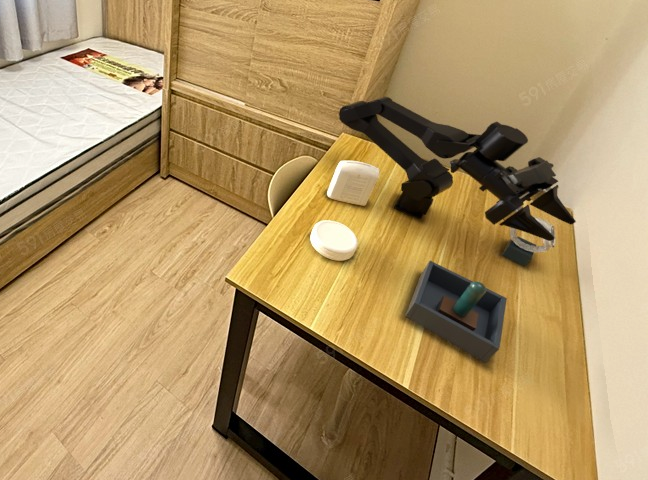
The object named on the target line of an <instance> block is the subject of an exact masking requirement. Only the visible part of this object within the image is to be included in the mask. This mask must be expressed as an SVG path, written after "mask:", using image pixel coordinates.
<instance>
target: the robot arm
mask: <svg viewBox="0 0 648 480" xmlns="http://www.w3.org/2000/svg"><path fill="white" fill-rule="evenodd" d="M377 115H378V116H380V117H382V118H383V119H385V120H386V121H388V122H391V123H392V124H394V125H396V126H397V127H400V128H401V129H402V130H405V131H406V132H408V133H410V134H411V135H413V136H415V137H417V138H418V139H419V140H421V143H423V145H424V147H425V148H427V149H428V150H429V151H430V152H431V153H433V154H434V155H435V156H437V157H438V158H441V159H452V158H454V157H456V156H459V155H460V154H462V155H461V156H460V157H459V158H454V159H452V160H450V161H449V164H450V168H449V167H446V166H445V165H443V164H442V163H441V162H440V161H439V160H438V159H437V158H432V159H430V160H427V159H424V158H422V157H421V156H420V155H418V154H417V153H416V152H415V151H414V150H412V149H411V148H410V147H409V146H408V145H407V144H406V143H404V142H403V141H402V140H401V139H400V138H399V137H397V136H396V135H395V134H394V133H393V132H391V130H389V129H388V128H387V127H386V126H385V125H383V123H381V122H380V121H379V118H378V116H377ZM338 117H339V118H338V119H339V121H340V122H341V123H342V124H343V125H344V126H346V127H348V129H351V130H353V131H356V132H359V133H362V134H363V135H365V136H366V137H367V138H368V139H369V140H370V141H371V142H373V143H374V145H376V146H377V147H378V148H379V149H380V150H381V151H382V152H384V153H385V154H386V155H387V156H388V157H389V158H390V159H391V160H393V161H394V162H395V163H396V164H397V165H398V166H399V167H400V168H402V169H403V171H404V172H405V174H406V177H407V180H406V181H404V182H402V183H401V184H400V191H401V194H399V196H398V199H397V200H396V203H395V205H394V206H393V208H394V209H395V210H397V211H400V212H402V213H404V214H405V215H408V216H411V217H413V218H415V219H418V220H422V218H423V216H426V215H427V213H428V212H429V210H430V208H431V206H432V205H433V202H434V197H436V196H439V195H440V194H442V193H443V192H445V191H447V190H449V189H451V188H452V186H453V184H454V177H453V175H452V174H454V173H456V172H459V171H460V170H462V171H463V172H465V173H466V174H467V175H468V176H469V177H470V178H472V179H473V180H474V181H476V182H477V183H478V184H480V186H479V188H478V189H479V190H480V191H481V192H485V191H488V192H489V193H490V194H492V195H493V196H494V197H495V198H497V199H498V201H496V203H495V204H494V205H493V206H491V207H490V208H489V209H487V210H486V211H484V217H485V219H486V220H487V221H488V222H490V223H491V224H492V225H493V226H495V225H496V224H498V223H499V222H501V221H502V220H503V221H502V222H501V223H499V226H500V227H502V226H505V227H508V228H510V227H511V228H514V229H516V231H517V230H518V231H520V232H524V233H525V234H529V235H532V236H533V237H534V236H535V237H537V238H540V239H542V238H543V239H545V240H548V241H552V240H553V239H555V240H556V236H555V237H554V236H553V235H552V234H551V233H550V232H549V231H548V230H547V229H546V228H545V227H544V226H543V225H542V224H541V223H539V222H540V221H539V222H538V221H537V220H536V219H535V218H534V217H535V216H533V215H532V212H531V209H530V206H532V207H534V208H535V209H538V210H539V211H542V212H543V213H546V214H548V215H550V216H552V217H553V218H556V219H557V220H560V221H561V222H563V223H566V224H568V225H573V224H575V223H577V221H576V219H575V218H574V217H573V215H572V214H571V213H570V211H569V210H568V208H566V206H565V205H564V204H563V202H562V201H561V199H560V198H559V196H558V189H559V184H557V183H558V182H559V180H558V179H557V178H555V177H556V176H557V174H556V173H555V172H554V170H553V168H554V167H555V166H554V164H553V163H551V162H549V161H548V160H545V159H543V158H542V157H540V156H539V157H538V156H537V157H535V158H532V159H530V160H529V161H528V162H527V165H528V166H525V167H523V168H521V169H516V168H515V167H514V166H510V165H509V166H507V167H505V166H504V165H502V164H501V163H500V162H506V161H507V160H508V159H510V158H511V157H512V156H513V155H514V154H516V153H517V152H518V151H519V150H521V149H522V148H523V147H524V146H525V145H526V144H528V143H529V139H528V136H527V135H526V134H525V133H524V132H523V131H522V130H520V129H518V128H516V127H513V126H510V125H507V124H502V123H500V122H499V121H494V122H491V123H490V125H488V126H487V127H486V129H485V130H484V131H483V132H482V133H481V134H477V133H470V132H469V133H468V132H467V131H464V130H462V129H461V128H458V127H455V126H451V125H450V124H449V125H448V124H442V123H437V122H434V121H431V120H430V119H428V118H426V117H424V116H423V115H421V114H418V113H416V112H414V111H413V110H411V109H409V108H407V107H405V106H403V105H401V104H400V103H398V102H395V101H394V100H393V99H392V98H391V97H388V96H382V97H379V98H376V99H373V100H370V101H365V100H357V101H355V102H352V103H348V104H345V105H343V106H342V107H340V109H339V111H338ZM474 148H475V150H474V151H470V150H472V149H474ZM554 185H555V186H554ZM553 186H554V187H553ZM526 201H527V202H530V201H531V202H530V203H529V204H527V205H525V204H524V202H526ZM524 205H525V206H524ZM543 239H542V240H543Z"/></svg>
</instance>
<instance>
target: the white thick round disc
mask: <svg viewBox="0 0 648 480" xmlns="http://www.w3.org/2000/svg"><path fill="white" fill-rule="evenodd" d="M309 238H310V244H311V245H312V247H313V249H314V250H315V251H316V252H317V253H318V254H320V255H321V256H323V257H324V258H327V259H329V260H332V261H338V262H340V261H341V262H343V261H348V260H349V259H351V258H352V257H354V254H355V252H356V250H357V248H358V242H359V241H358V238H357V236H356V234H355V233H354V231H353V230H352V229H350V228H349V227H348V226H347V225H345V224H343V223H341V222H338V221H335V220H328V219H325V220H320V221H318V222H316V224H314V225H313V228H312V230H311V233H310V237H309Z"/></svg>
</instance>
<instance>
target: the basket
mask: <svg viewBox="0 0 648 480" xmlns="http://www.w3.org/2000/svg"><path fill="white" fill-rule="evenodd" d="M472 282H474V281H473V280H471V279H469V278H467V277H465V276H463V275H460V274H458V273H457V272H454V271H452V270H450V269H449V268H446V267H444V266H442V265H440V264H438V263H436V262H434V261H432V260H429V261H428V263H427V264H426V265H425V267H424V269H423V270H422V272H421V273H420V276H419V278H418V281H417V283H416V287H415V289H414V291H413V295H412V297H411V299H410V303H409V306H408V307H407V310H406V313H405V316H404V317H405V318H407V319H409V320H411V321H412V322H414V323H415V324H417V325H419V326H421V327H422V328H424V329H425V330H428V331H429V332H431V333H433V334H434V335H436V336H438V337H440V338H441V339H443V340H445V341H447V342H448V343H450V344H451V345H454V346H456V347H457V348H459V349H460V350H463V351H464V352H466V353H468V354H469V355H471V356H473V357H474V358H476V359H478V360H480V361H481V362H483V363H485V364H486V363H487V362H489V360H490V359H491V358H492V357H493V356H494V355H495V354H496V353H497V352H498V351H499V350H500V347H501V346H500V345H501V341H502V334H503V327H504V319H505V314H506V306H507V300H508V298H507V297H506V296H504V295H501V294H499V293H497V292H495V291H494V290H492V289H489V288H488V287H486V292H485V294H484V295H483V296H482V297H481V299H480V300H479V301H478V302H477V304H476V305H475V306H474V307H473V308H472V311H474V312H476V313H478V314H479V316H478V321H477V326H476V329H475V330H474V331H471V330H470V329H468V328H466V327H464V326H462V325H460V324H459V323H457V322H455V321H453V320H451V319H450V318H448V317H446V316H444V315H442V314H440V313H439V312H437V311H435V310H436V307H437V304H438V303H439V302H440V300H441V299H442V297H443V296H445V297H447V298H449V299H451V300H453V301H455V302H457V301H458V299H459V298H460V297H461V295H462V294H463V293H464V292H465V290H466V289H467V288H468V286H469V285H470V284H471V283H472Z"/></svg>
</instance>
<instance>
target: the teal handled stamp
mask: <svg viewBox="0 0 648 480" xmlns="http://www.w3.org/2000/svg"><path fill="white" fill-rule="evenodd" d="M486 288H487V286H486V285H485V284H484V283H483V282H481V281H476V280H475V281H473V282H472V283H471V284H470V285H469V286H468V288H467V289H466V290H465V292H464V293H463V294H462V295H461V297H460V298H459V299H458V301H457V302H455V301H453V300H451V299H449V298H447V297H445V296H443V297H442V299H441V300H440V302H439V303H438V304H437V307H436V310H435V311H437V312H439V313H440V314H442V315H444V316H446V317H448V318H450V319H451V320H453V321H455V322H457V323H459V324H460V325H462V326H464V327H466V328H468V329H470V330H471V331H474V330H475V329H476V326H477V321H478V316H479V314H478V313H476V312H474V311H472V308H473V307H474V306H475V305H476V304H477V302H478V301H479V300H480V299H481V297H482V296H483V295H484V294H485V292H486Z"/></svg>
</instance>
